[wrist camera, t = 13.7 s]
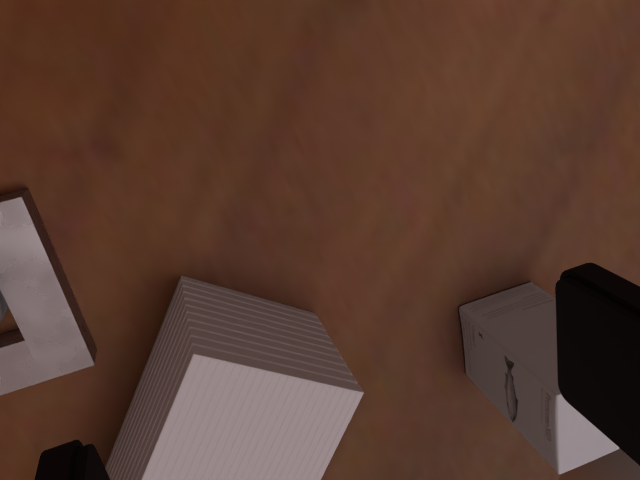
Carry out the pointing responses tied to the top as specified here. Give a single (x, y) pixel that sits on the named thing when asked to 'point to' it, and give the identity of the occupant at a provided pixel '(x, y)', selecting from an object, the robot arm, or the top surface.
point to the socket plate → (36, 302)
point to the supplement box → (527, 374)
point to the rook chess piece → (2, 306)
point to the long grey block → (235, 393)
